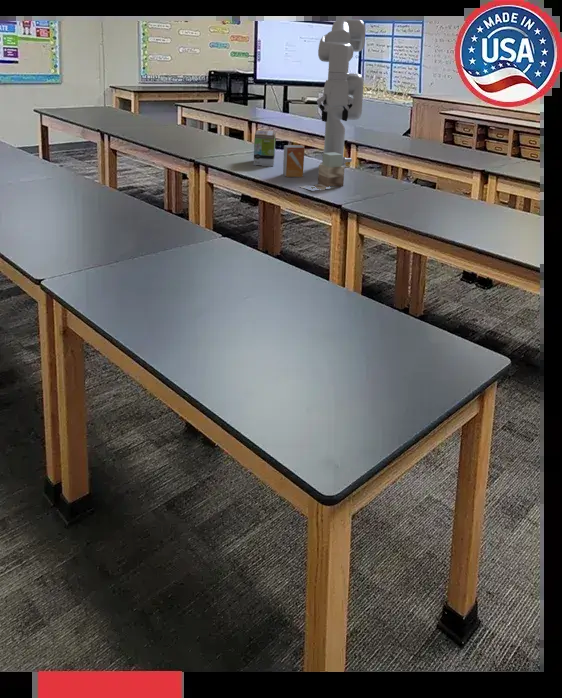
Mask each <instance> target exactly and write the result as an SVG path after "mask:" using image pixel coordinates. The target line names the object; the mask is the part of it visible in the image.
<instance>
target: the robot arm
mask: <svg viewBox="0 0 562 698" xmlns="http://www.w3.org/2000/svg"><path fill="white" fill-rule="evenodd" d="M365 41H366V25H365V22H364V21H363V20H361V19H359V18H357V19H353V18H351V19H350V18H341V19H340V18H339V19H337V20H335V21H334V22H333V24H332V27H331V30H330V31H329V32H328V33H326V34H324V35H322V37H321V38H320V40H319V43H318V48H317V50H318V51H317V53H318V58H319V60H320V61H321V62H324V63H328V69H327V70H328V72H327V73H328V74H327V79H326V80H325V82H324V88H323V94H322V96H321V97H319V98H318V99H317V100H316V103H317V105H318V108H319V109H320V112H321V121H322V122H325V125H324V126H325V127H324V128H325V129H324V146H323V153H331V152H336V153H339V154H342V166H343V167H345V168H346V167H347V166H346V165H347V164H346V163H351V162H352V161H353V160H352V158H351V157H345V156H344V150H345V138H346V137H345V136H346V135H345V134H346V129H345V125H344V124H343V122H342V121H344V122H347V121H349V120H350V121H351V120H352V121H353V120H354V121H357V120H359V119H360V118H361V116H362V111H363V99H364V78H363V76H362V74H361V73H360V74H359V73H351V72H350V73H349V65H350V61H351V60H352V59H353V57H354V52H355V53H357V52H362V51H363V49H364V47H365ZM341 120H342V121H341ZM321 164H322V162H320V163H319V165H321Z"/></svg>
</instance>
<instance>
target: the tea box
mask: <svg viewBox="0 0 562 698" xmlns="http://www.w3.org/2000/svg"><path fill="white" fill-rule="evenodd" d="M276 133H277V132H276V131H275V130H258V129H257V130H255V133H254V137H253V138H254V140H253V166H256V165H262V167H274V163H275V155H276Z"/></svg>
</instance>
